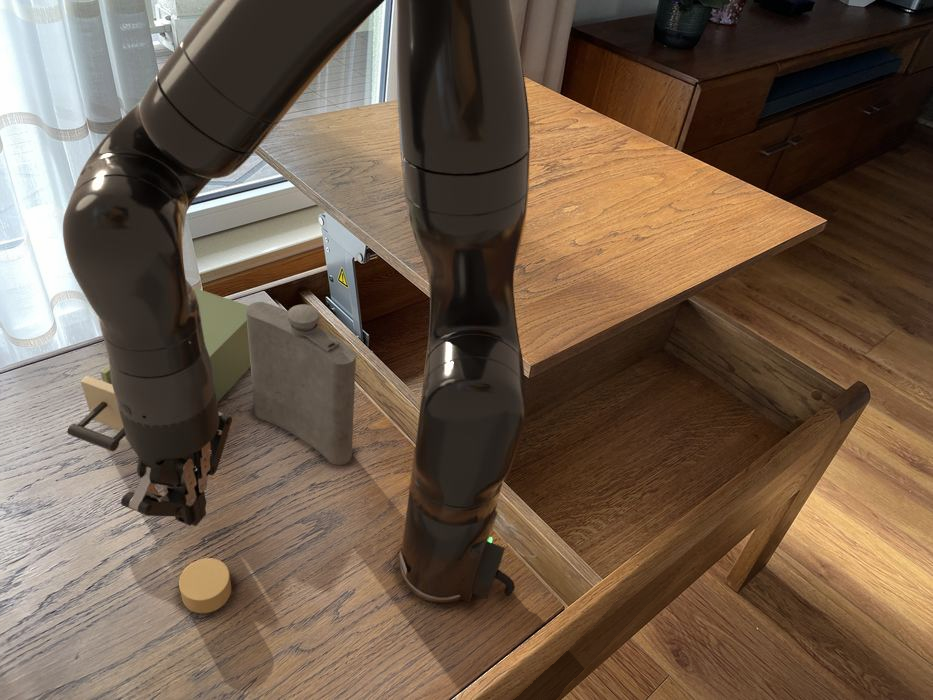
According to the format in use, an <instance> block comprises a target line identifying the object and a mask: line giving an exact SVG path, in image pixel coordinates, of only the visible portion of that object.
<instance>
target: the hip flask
mask: <svg viewBox="0 0 933 700" xmlns="http://www.w3.org/2000/svg"><path fill="white" fill-rule="evenodd" d="M246 316H247V328H248V340H249V351H250V363H251V367H250V375H251V385H252V397H253V408H254V409H253V410H254V414H255V417H257V418H258V419H261V420H263V421H265V422H268V423H271V424H273V425H275V426H276V427H279V428H281V429H283V430H285V431H287V432H289V433H290V434H292V435H294V436H295V437H296V438H299V439H300V440H302V441H303V442H305V443H306V444H308V445H309V446H311V447H312V448H313V449H315V450H316V451H317V452H318V453H320V454H321V455H322V456H323V457H324V458H325V459H326V460H327V461H328V462H330V463H331V464H333V465H335V466H342V465H346V464H348V463H349V462H351V460H352V457H353V439H354V438H353V436H354V435H353V434H354V412H355V409H354V408H355V389H356V387H355V386H356V365H357V364H356V363H357V354H356V352H355V350H354V349H353V348H351V347H350V346H349V345H347V344H346V343H345V342H343V341H342V340H341V339H340V338H338V337H337V336H335V335H333V334H332V333H331V332H329V331H327V330H325V329H324V328H322V327H320V326H319V325H318V324H319V321H320V312H319V310H318V308H316V307H315V306H313V305H311V304H304V303H303V304H302V303H301V304H297V305H294V306H292V307H290V308H289V309H288V310H287V309H285V308H282V307H279V306H276V305H273V304H271V303H268V302H264V301H256V302H252V303H250V304H248V307H247V308H246Z"/></svg>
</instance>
